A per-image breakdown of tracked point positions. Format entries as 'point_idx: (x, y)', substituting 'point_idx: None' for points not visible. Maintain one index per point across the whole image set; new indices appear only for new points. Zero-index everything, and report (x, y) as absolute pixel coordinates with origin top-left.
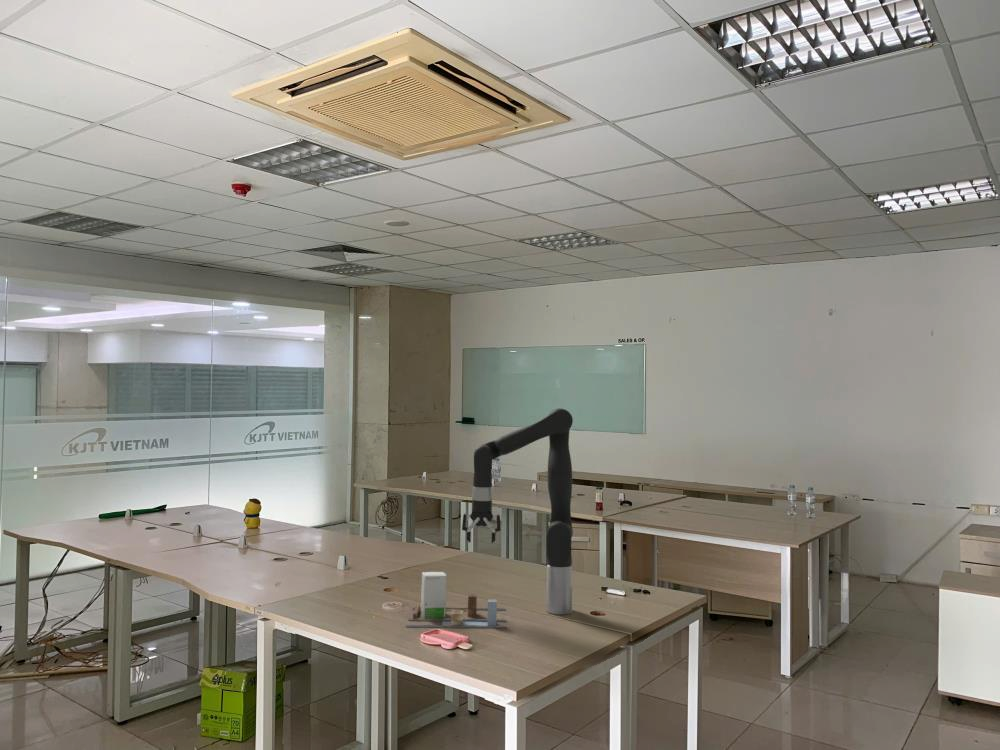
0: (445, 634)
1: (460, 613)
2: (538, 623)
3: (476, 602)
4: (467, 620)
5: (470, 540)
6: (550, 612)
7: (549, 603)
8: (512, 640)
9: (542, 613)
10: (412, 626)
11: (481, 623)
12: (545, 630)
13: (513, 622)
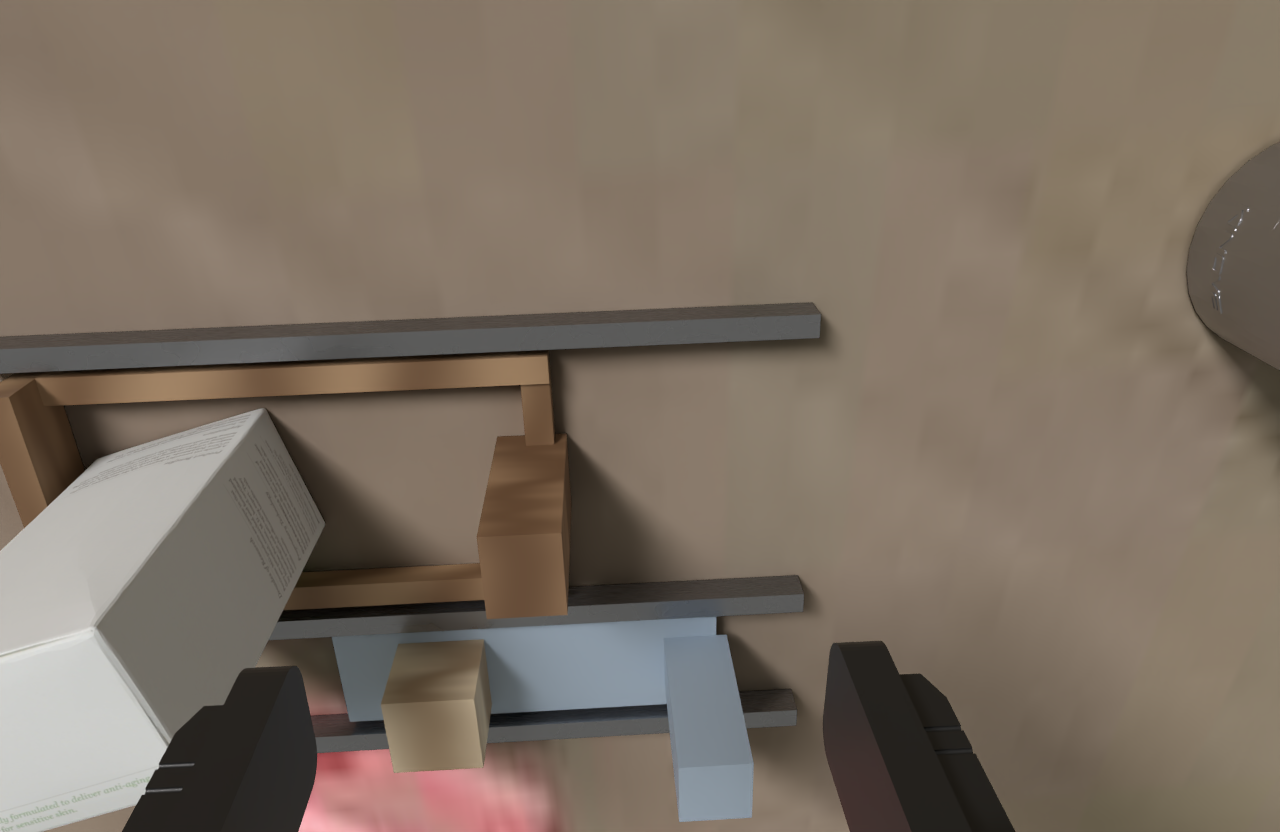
0: (401, 781)
1: (464, 761)
2: (1035, 546)
3: (568, 582)
4: (514, 623)
5: (302, 773)
6: (1205, 321)
7: (1247, 336)
8: (812, 826)
9: (1133, 308)
10: None
11: (621, 652)
12: (1047, 668)
13: (854, 541)
